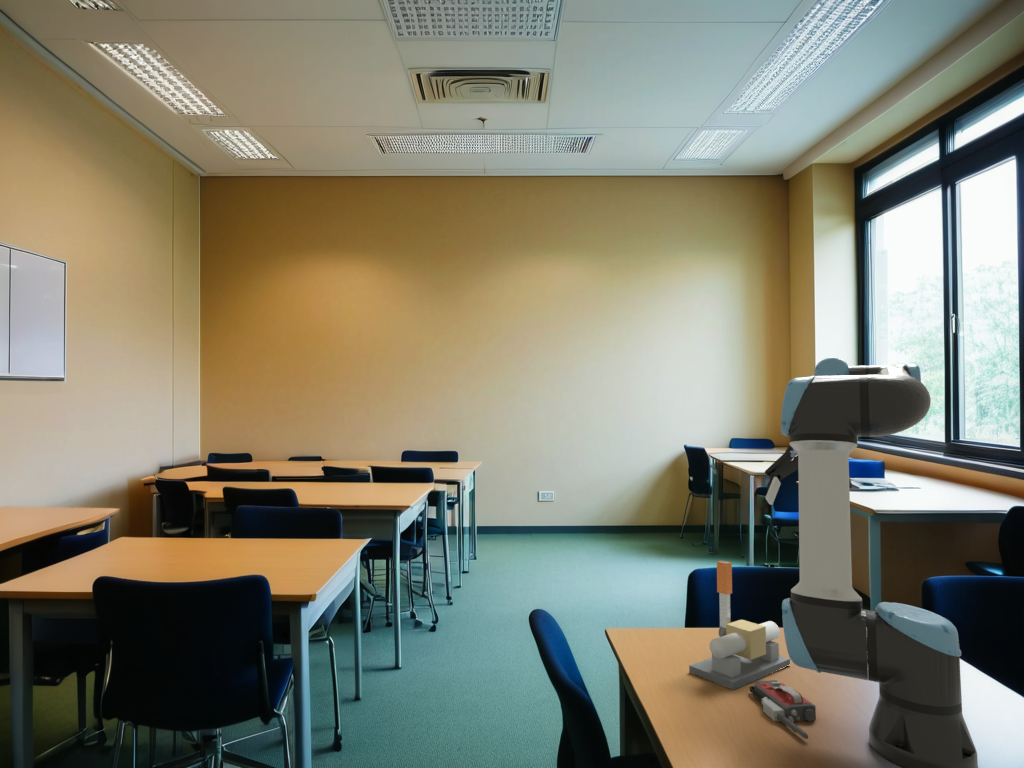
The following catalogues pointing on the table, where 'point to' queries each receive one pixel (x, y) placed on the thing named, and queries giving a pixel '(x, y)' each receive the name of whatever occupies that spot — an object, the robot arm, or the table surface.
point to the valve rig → (742, 654)
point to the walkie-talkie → (783, 704)
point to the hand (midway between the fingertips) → (796, 505)
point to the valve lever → (724, 593)
